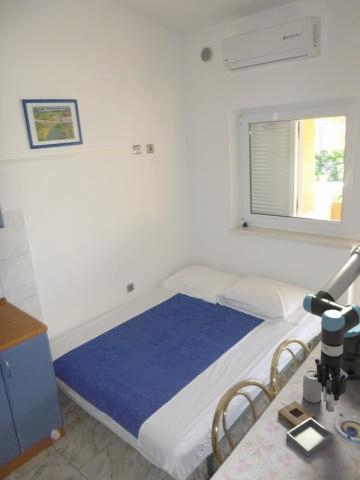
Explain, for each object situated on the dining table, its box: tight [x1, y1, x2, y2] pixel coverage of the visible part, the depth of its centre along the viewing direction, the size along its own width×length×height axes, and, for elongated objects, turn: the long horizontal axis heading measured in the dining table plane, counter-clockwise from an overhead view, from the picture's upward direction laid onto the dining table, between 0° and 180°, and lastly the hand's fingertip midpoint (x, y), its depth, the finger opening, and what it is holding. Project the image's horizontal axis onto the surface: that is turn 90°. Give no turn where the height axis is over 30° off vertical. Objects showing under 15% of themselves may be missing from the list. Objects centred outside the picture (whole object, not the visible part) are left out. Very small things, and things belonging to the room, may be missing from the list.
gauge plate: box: [277, 400, 316, 429], centre depth 150 cm, size 10×10×2 cm
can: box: [302, 369, 323, 404], centre depth 158 cm, size 8×8×12 cm
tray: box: [285, 417, 334, 458], centre depth 139 cm, size 13×10×3 cm
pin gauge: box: [325, 376, 335, 413], centre depth 143 cm, size 3×3×14 cm
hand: (330, 402), depth 144 cm, fingers closed on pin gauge, 3 cm apart
